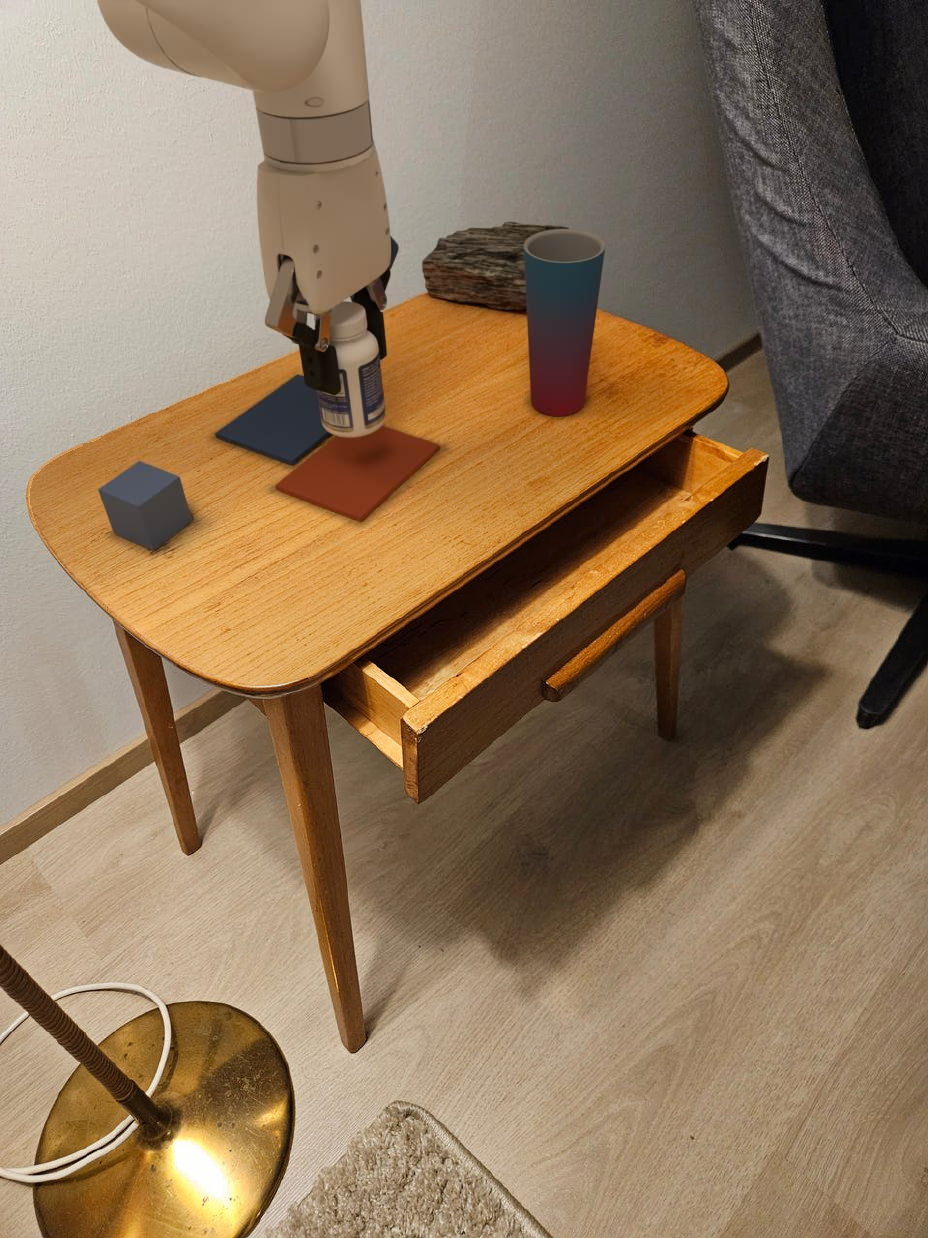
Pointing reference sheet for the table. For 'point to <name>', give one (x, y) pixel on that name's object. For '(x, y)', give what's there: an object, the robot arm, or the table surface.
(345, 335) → the pill bottle
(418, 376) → the table surface
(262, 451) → the blue mat
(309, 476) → the rust mat
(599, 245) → the cup
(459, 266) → the rock
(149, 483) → the blue block
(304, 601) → the table surface
